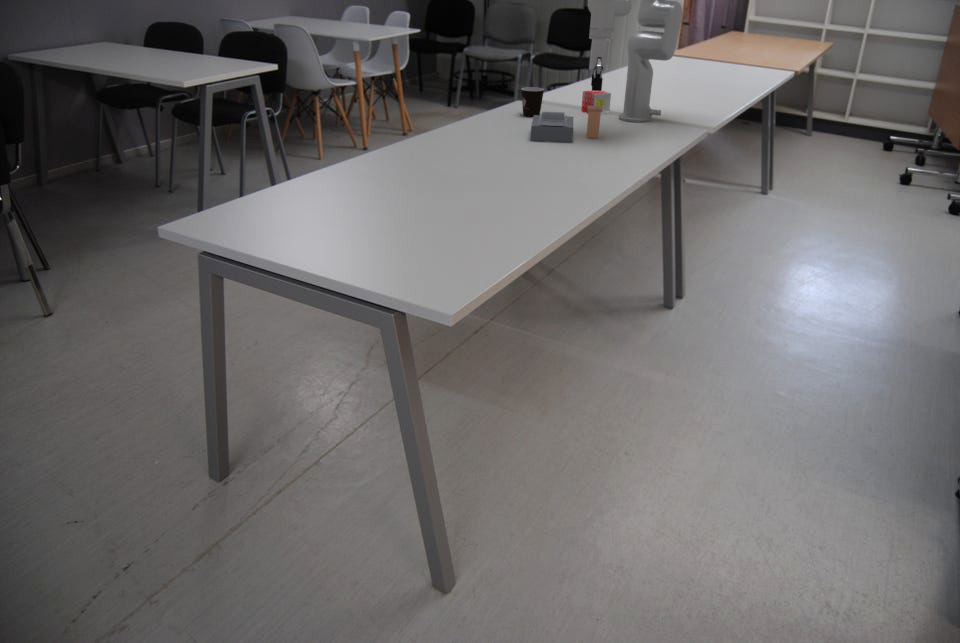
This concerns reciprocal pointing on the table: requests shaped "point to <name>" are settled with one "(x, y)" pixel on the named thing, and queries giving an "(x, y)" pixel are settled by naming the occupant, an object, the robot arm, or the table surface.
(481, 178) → the table surface
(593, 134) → the plug
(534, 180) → the table surface
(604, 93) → the puzzle cube
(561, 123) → the shutter
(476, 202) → the table surface
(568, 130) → the socket box
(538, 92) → the dark brown cup
